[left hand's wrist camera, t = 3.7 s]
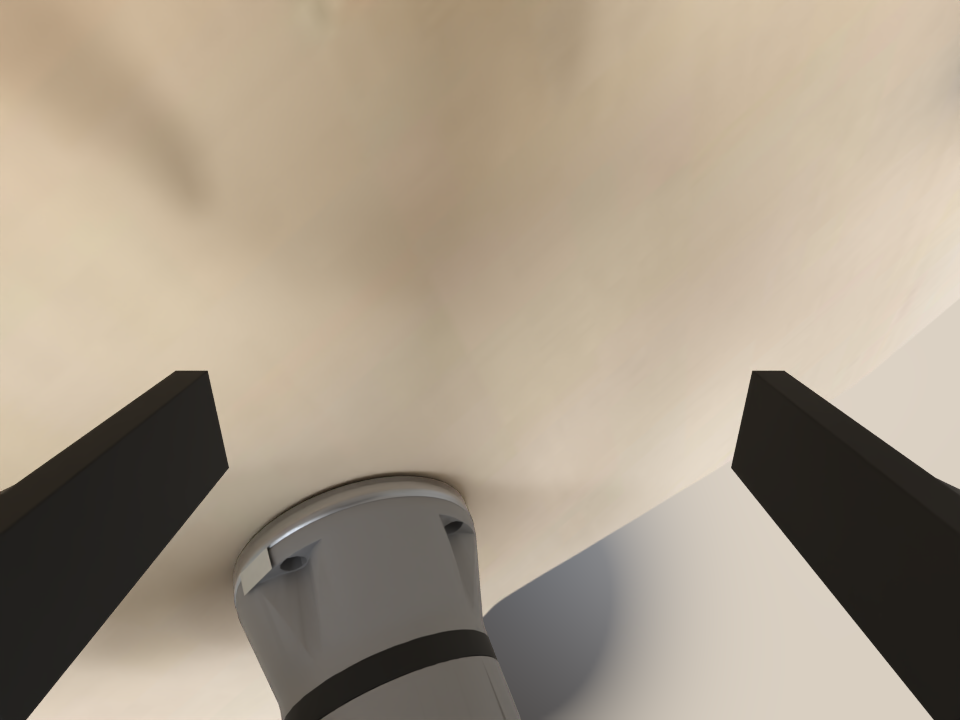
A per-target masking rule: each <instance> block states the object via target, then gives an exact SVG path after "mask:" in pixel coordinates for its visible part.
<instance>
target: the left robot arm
mask: <svg viewBox="0 0 960 720" xmlns="http://www.w3.org/2000/svg"><path fill="white" fill-rule="evenodd" d="M228 468H229V466H228V462H227V457H226V452H225V448H224V443H223V439H222V434H221V430H220V425H219V420H218V416H217V411H216V407H215V402H214V398H213V393H212V389H211V384H210V379H209V375H208V371H175V372H173V373H172V374H171V375H169V376H168V377H166V378H165V379H164V380H162V381H161V382H159V383H158V384H156V385H155V386H154V387H152V388H151V389H149V390H148V391H147V392H145V393H144V394H142V395H141V396H139V397H138V398H137V399H135V400H134V401H132V402H131V403H130V404H128V405H127V406H125V407H124V408H123V409H121V410H120V411H118V412H117V413H115V414H114V415H113V416H111V417H110V418H108V419H107V420H106V421H104V422H103V423H101V424H100V425H99V426H97V427H96V428H94V429H93V430H91V431H90V432H89V433H87V434H86V435H84V436H83V437H82V438H80V439H79V440H77V441H76V442H75V443H73V444H72V445H70V446H69V447H67V448H66V449H65V450H63V451H62V452H60V453H59V454H58V455H56V456H55V457H53V458H52V459H50V460H49V461H48V462H46V463H45V464H43V465H42V466H41V467H39V468H38V469H36V470H35V471H34V472H32V473H31V474H29V475H28V476H26V477H25V478H24V479H22V480H21V481H19V482H18V483H17V484H15V485H13V486H11V487H9V488H7V489H5V490H3V491H1V492H0V720H26V719H27V718H28V717H29V716H30V714H31V713H32V712H33V711H34V709H35V708H36V707H37V706H38V704H39V703H40V702H41V701H42V700H43V698H44V697H45V696H46V695H47V693H48V692H49V691H50V690H51V688H52V687H53V686H54V685H55V683H56V682H57V681H58V680H59V678H60V677H61V676H62V675H63V673H64V672H65V671H66V670H67V668H68V667H69V666H70V665H71V663H72V662H73V661H74V660H75V658H76V657H77V656H78V655H79V654H80V652H81V651H82V650H83V649H84V647H85V646H86V645H87V644H88V642H89V641H90V640H91V639H92V637H93V636H94V635H95V634H96V632H97V631H98V630H99V629H100V627H101V626H102V625H103V624H104V622H105V621H106V620H107V619H108V617H109V616H110V615H111V614H112V612H113V611H114V610H115V609H116V607H117V606H118V605H119V604H120V603H121V601H122V600H123V599H124V598H125V596H126V595H127V594H128V593H129V591H130V590H131V589H132V588H133V586H134V585H135V584H136V583H137V581H138V580H139V579H140V578H141V576H142V575H143V574H144V573H145V571H146V570H147V569H148V568H149V566H150V565H151V564H152V563H153V561H154V560H155V559H156V558H157V557H158V555H159V554H160V553H161V552H162V550H163V549H164V548H165V547H166V545H167V544H168V543H169V542H170V540H171V539H172V538H173V537H174V535H175V534H176V533H177V532H178V530H179V529H180V528H181V527H182V525H183V524H184V523H185V522H186V520H187V519H188V518H189V517H190V515H191V514H192V513H193V512H194V511H195V509H196V508H197V507H198V506H199V504H200V503H201V502H202V501H203V499H204V498H205V497H206V496H207V494H208V493H209V492H210V491H211V489H212V488H213V487H214V486H215V484H216V483H217V482H218V481H219V479H220V478H221V477H222V476H223V474H224V473H225V472H226V471H227V469H228ZM731 468H732V469H733V471H734V472H735V473H736V474H737V476H738V477H739V478H740V479H741V481H742V482H743V483H744V484H745V486H746V487H747V488H748V489H749V491H750V492H751V493H752V494H753V496H754V497H755V498H756V499H757V500H758V502H759V503H760V504H761V506H762V507H763V508H764V509H765V511H766V512H767V513H768V514H769V515H770V517H771V518H772V519H773V520H774V522H775V523H776V524H777V525H778V527H779V528H780V529H781V530H782V532H783V533H784V534H785V535H786V537H787V538H788V539H789V540H790V542H791V543H792V544H793V545H794V547H795V548H796V549H797V550H798V552H799V553H800V554H801V555H802V557H803V558H804V559H805V560H806V561H807V563H808V564H809V565H810V566H811V568H812V569H813V570H814V571H815V573H816V574H817V575H818V576H819V578H820V579H821V580H822V581H823V583H824V584H825V585H826V586H827V588H828V589H829V590H830V591H831V593H832V594H833V595H834V596H835V598H836V599H837V600H838V601H839V603H840V604H841V605H842V606H843V607H844V609H845V610H846V611H847V612H848V614H849V615H850V616H851V617H852V619H853V620H854V621H855V622H856V624H857V625H858V626H859V627H860V629H861V630H862V631H863V632H864V634H865V635H866V636H867V637H868V639H869V640H870V641H871V642H872V644H873V645H874V646H875V647H876V648H877V650H878V651H879V652H880V654H881V655H882V656H883V657H884V658H885V660H886V661H887V662H888V663H889V665H890V666H891V667H892V668H893V670H894V671H895V672H896V673H897V675H898V676H899V677H900V678H901V680H902V681H903V682H904V683H905V685H906V686H907V687H908V688H909V690H910V691H911V692H912V693H913V695H914V696H915V697H916V698H917V699H918V701H919V702H920V703H921V704H922V706H923V707H924V708H925V709H926V711H927V712H928V713H929V714H930V716H931V717H932V718H933V719H934V720H960V489H958V488H956V487H954V486H951V485H949V484H947V483H945V482H943V481H941V480H939V479H937V478H935V477H934V476H932V475H931V474H929V473H928V472H926V471H925V470H924V469H922V468H921V467H919V466H918V465H916V464H915V463H914V462H912V461H911V460H910V459H908V458H907V457H905V456H904V455H902V454H901V453H900V452H898V451H897V450H895V449H894V448H893V447H891V446H890V445H888V444H887V443H885V442H884V441H883V440H881V439H880V438H878V437H877V436H876V435H874V434H873V433H871V432H870V431H869V430H867V429H866V428H864V427H863V426H861V425H860V424H859V423H857V422H856V421H854V420H853V419H852V418H850V417H849V416H847V415H846V414H844V413H843V412H842V411H840V410H839V409H837V408H836V407H835V406H833V405H832V404H830V403H829V402H828V401H826V400H825V399H823V398H822V397H821V396H819V395H818V394H816V393H815V392H813V391H812V390H811V389H809V388H808V387H806V386H805V385H804V384H802V383H801V382H799V381H798V380H796V379H795V378H794V377H792V376H791V375H789V374H788V373H787V372H785V371H752V375H751V379H750V384H749V389H748V393H747V398H746V402H745V407H744V411H743V416H742V420H741V425H740V430H739V434H738V439H737V443H736V448H735V452H734V457H733V462H732V466H731ZM233 585H234V602H235V607H236V609H237V613H238V617H239V620H240V623H241V625H242V627H243V629H244V631H245V633H246V636H247V638H248V640H249V642H250V644H251V646H252V648H253V650H254V653H255V655H256V657H257V659H258V661H259V663H260V665H261V668H262V670H263V672H264V674H265V676H266V678H267V680H268V683H269V685H270V687H271V689H272V691H273V693H274V695H275V698H276V700H277V702H278V704H279V707H280V711H281V717H282V720H521V718H520V716H519V713H518V711H517V708H516V706H515V703H514V701H513V698H512V696H511V693H510V691H509V688H508V686H507V683H506V681H505V678H504V675H503V673H502V670H501V668H500V665H499V663H498V661H497V658H496V656H495V653H494V650H493V648H492V645H491V643H490V640H489V637H488V635H487V632H486V629H485V626H484V622H483V617H482V605H481V592H480V580H479V568H478V555H477V543H476V533H475V529H474V524H473V520H472V517H471V515H470V513H469V510H468V508H467V506H466V504H465V501H464V499H463V497H462V496H461V494H460V493H459V492H458V491H457V490H456V489H454V488H453V487H452V486H450V485H448V484H446V483H444V482H441V481H438V480H435V479H431V478H425V477H417V476H392V477H383V478H375V479H370V480H365V481H360V482H356V483H352V484H349V485H345V486H342V487H339V488H336V489H333V490H330V491H327V492H325V493H322V494H320V495H318V496H315V497H313V498H311V499H309V500H307V501H305V502H303V503H301V504H299V505H297V506H295V507H293V508H291V509H290V510H288V511H286V512H285V513H283V514H282V515H280V516H279V517H277V518H276V519H274V520H273V521H272V522H270V523H269V524H268V525H266V526H265V527H264V528H263V529H262V530H260V531H259V532H258V533H257V534H256V535H255V536H254V537H253V538H252V539H251V540H250V541H249V543H248V544H247V545H246V546H245V548H244V549H243V550H242V552H241V554H240V555H239V557H238V559H237V562H236V564H235V567H234V572H233Z"/></svg>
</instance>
